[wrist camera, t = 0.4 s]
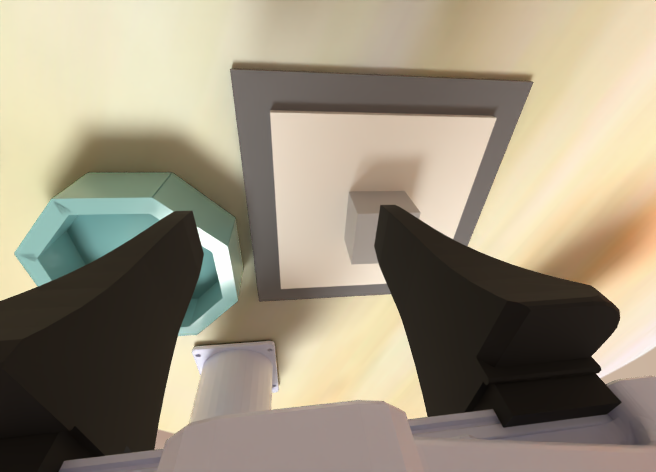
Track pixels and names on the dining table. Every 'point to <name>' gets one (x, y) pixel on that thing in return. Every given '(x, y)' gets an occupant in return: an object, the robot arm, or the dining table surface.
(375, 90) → the mat
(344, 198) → the cover
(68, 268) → the bowl
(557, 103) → the dining table surface
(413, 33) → the dining table surface
